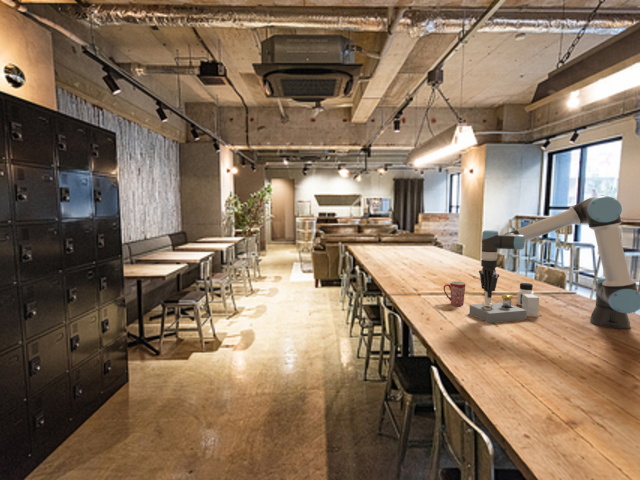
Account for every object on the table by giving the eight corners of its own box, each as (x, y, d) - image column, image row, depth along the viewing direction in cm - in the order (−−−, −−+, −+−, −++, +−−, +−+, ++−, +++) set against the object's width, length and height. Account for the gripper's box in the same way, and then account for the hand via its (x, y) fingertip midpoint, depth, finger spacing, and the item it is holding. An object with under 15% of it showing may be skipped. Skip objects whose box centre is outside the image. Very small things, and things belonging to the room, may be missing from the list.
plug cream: (494, 317, 178) (495, 304, 178) (486, 318, 177) (486, 305, 177) (488, 314, 183) (488, 301, 183) (479, 315, 182) (480, 302, 182)
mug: (465, 303, 208) (466, 281, 206) (464, 307, 200) (465, 284, 198) (444, 300, 213) (444, 280, 212) (442, 304, 205) (442, 283, 204)
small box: (538, 316, 180) (539, 297, 179) (527, 316, 181) (528, 297, 180) (532, 312, 188) (533, 294, 187) (521, 311, 189) (522, 293, 188)
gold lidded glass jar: (514, 309, 180) (515, 296, 180) (506, 309, 179) (506, 297, 179) (507, 306, 185) (507, 294, 185) (499, 307, 184) (499, 294, 184)
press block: (526, 319, 176) (526, 310, 176) (489, 323, 172) (489, 313, 171) (503, 310, 192) (503, 302, 191) (469, 313, 187) (469, 304, 187)
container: (532, 306, 198) (533, 285, 197) (517, 304, 203) (518, 283, 202) (533, 303, 205) (534, 282, 203) (518, 301, 209) (519, 281, 208)
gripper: (504, 261, 172) (502, 305, 174) (486, 257, 185) (485, 299, 187) (491, 261, 170) (490, 306, 173) (474, 258, 183) (473, 300, 185)
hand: (487, 302), depth 180 cm, fingers closed
